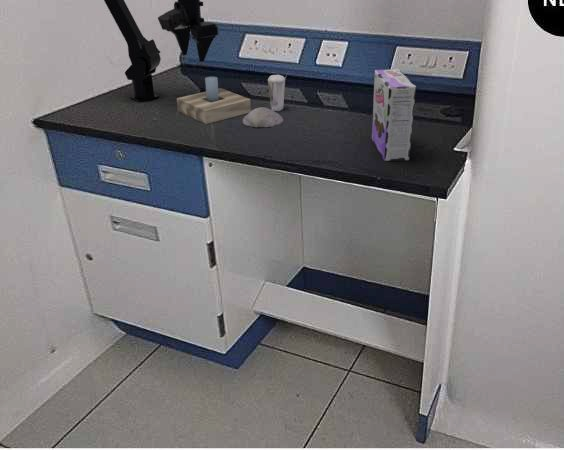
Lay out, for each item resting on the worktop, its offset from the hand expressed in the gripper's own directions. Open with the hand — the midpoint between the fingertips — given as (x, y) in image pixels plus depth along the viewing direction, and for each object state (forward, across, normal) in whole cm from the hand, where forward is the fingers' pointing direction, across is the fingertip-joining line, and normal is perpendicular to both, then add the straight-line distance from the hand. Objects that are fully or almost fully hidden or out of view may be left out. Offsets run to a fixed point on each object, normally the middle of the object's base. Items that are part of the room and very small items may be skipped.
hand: (193, 58), depth 170 cm
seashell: (+12, +26, +4) cm, 29 cm away
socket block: (+12, +12, -1) cm, 17 cm away
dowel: (+12, +12, -1) cm, 17 cm away
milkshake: (+12, +21, +13) cm, 28 cm away
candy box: (+11, +60, +15) cm, 63 cm away
